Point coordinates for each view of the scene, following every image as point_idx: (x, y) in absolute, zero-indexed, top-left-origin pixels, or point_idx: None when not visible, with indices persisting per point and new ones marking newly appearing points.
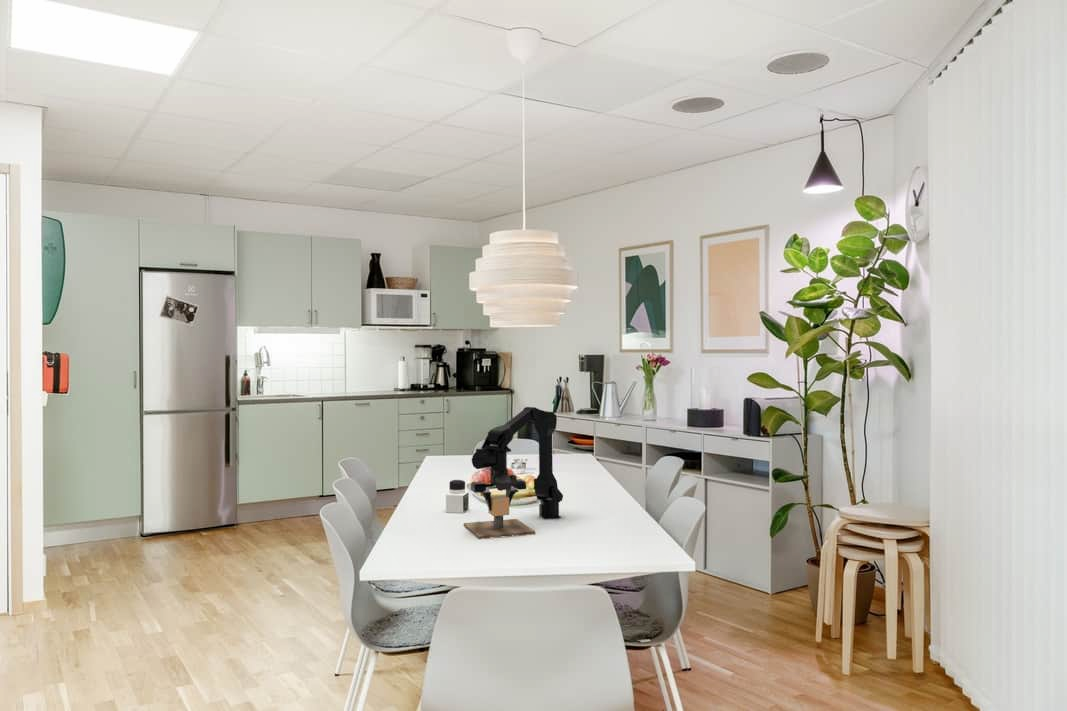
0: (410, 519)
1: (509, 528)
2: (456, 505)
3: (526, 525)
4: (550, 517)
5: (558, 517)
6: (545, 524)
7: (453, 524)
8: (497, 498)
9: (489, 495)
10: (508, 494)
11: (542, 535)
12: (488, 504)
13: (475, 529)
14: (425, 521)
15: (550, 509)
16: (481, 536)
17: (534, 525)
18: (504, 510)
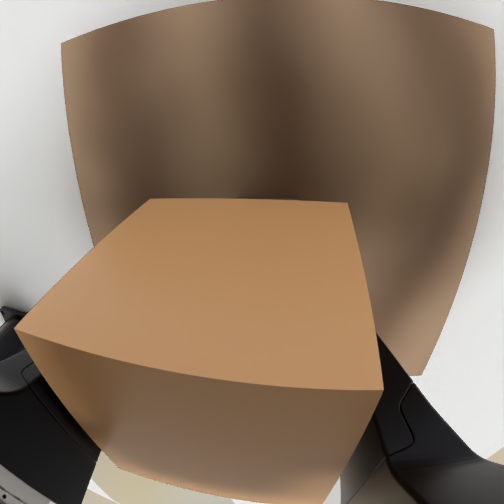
0: (484, 447)
1: (198, 152)
2: (330, 497)
3: (83, 201)
4: (20, 314)
5: (5, 308)
6: (24, 242)
7: (435, 392)
8: (252, 385)
9: (441, 484)
10: (38, 421)
11: (52, 13)
12: (396, 361)
13: (452, 221)
14: (475, 431)
15: (4, 337)
16: (473, 22)
17: (60, 243)
18: (181, 221)
